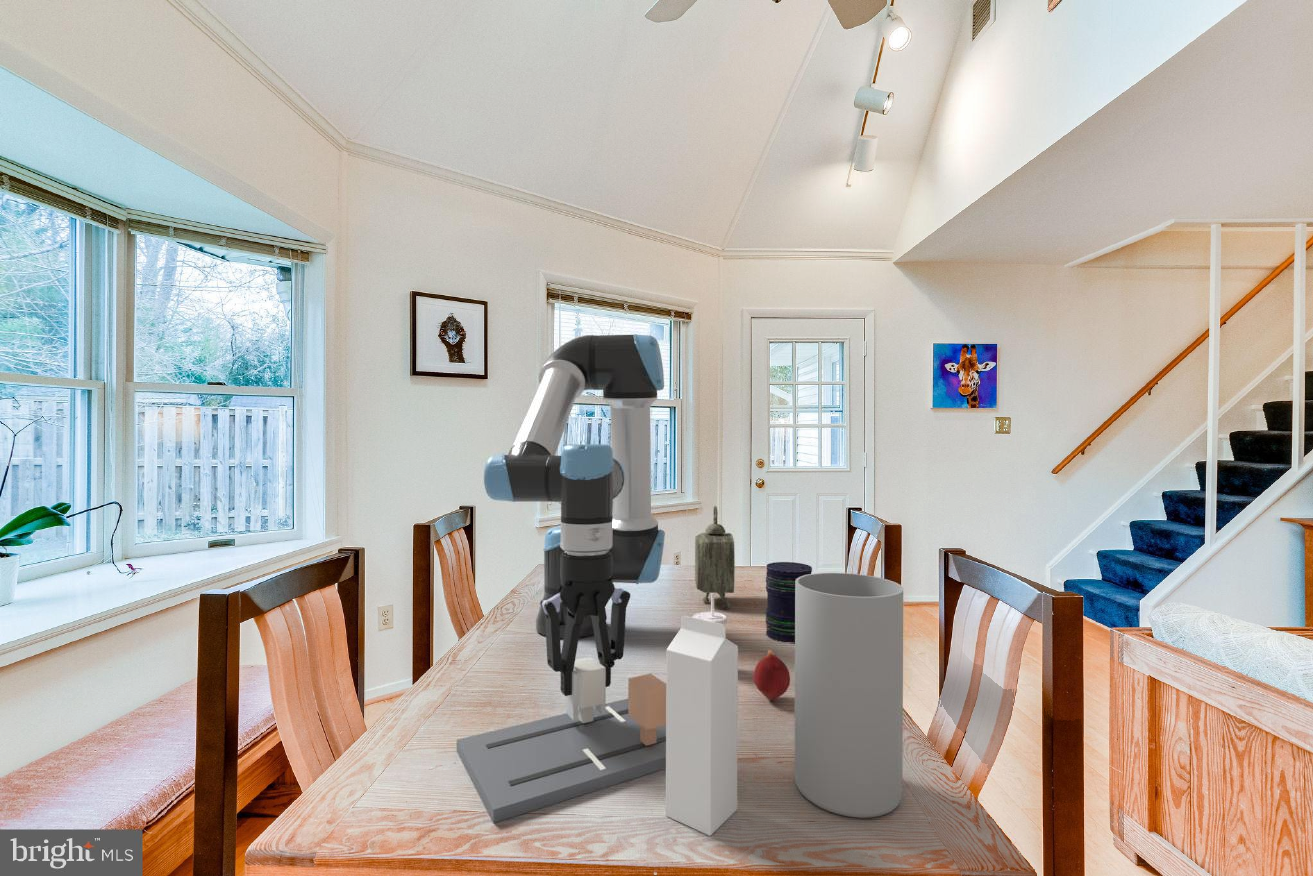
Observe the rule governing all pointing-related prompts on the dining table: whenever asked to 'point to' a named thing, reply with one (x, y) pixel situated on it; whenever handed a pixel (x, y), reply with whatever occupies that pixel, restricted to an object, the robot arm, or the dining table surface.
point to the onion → (771, 676)
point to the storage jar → (782, 599)
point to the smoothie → (711, 614)
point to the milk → (701, 725)
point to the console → (557, 759)
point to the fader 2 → (647, 705)
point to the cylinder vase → (849, 692)
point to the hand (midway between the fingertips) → (585, 712)
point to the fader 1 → (589, 687)
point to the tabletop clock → (715, 561)
